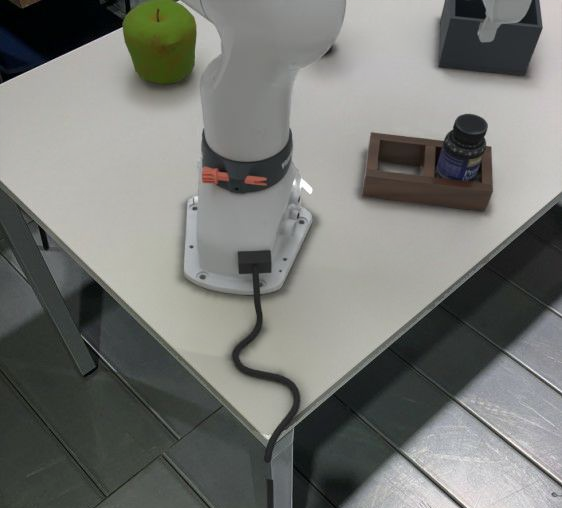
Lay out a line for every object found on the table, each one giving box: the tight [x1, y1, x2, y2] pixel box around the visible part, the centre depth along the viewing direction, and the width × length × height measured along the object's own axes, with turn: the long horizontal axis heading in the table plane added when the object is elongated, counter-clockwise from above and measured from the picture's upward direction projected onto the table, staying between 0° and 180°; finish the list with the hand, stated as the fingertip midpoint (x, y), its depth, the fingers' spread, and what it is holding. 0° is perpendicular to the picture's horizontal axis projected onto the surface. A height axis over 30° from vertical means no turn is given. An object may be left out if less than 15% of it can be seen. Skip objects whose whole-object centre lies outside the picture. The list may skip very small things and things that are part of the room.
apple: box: [121, 0, 198, 85], centre depth 106 cm, size 12×12×11 cm
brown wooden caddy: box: [361, 131, 494, 212], centre depth 96 cm, size 10×19×4 cm, turn 81°
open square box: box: [438, 0, 544, 77], centre depth 113 cm, size 16×16×9 cm
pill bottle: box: [434, 113, 489, 182], centre depth 92 cm, size 6×6×11 cm
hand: (476, 17), depth 81 cm, fingers open, 8 cm apart
